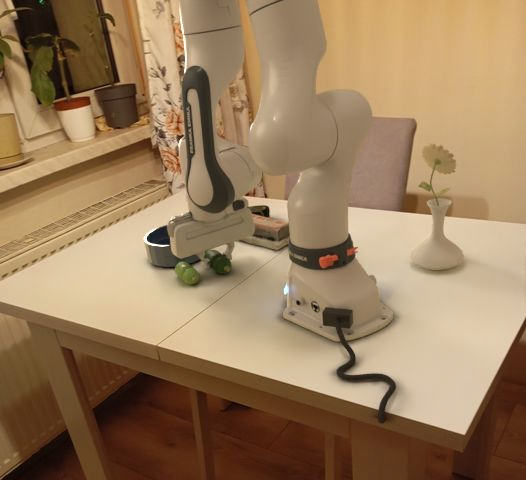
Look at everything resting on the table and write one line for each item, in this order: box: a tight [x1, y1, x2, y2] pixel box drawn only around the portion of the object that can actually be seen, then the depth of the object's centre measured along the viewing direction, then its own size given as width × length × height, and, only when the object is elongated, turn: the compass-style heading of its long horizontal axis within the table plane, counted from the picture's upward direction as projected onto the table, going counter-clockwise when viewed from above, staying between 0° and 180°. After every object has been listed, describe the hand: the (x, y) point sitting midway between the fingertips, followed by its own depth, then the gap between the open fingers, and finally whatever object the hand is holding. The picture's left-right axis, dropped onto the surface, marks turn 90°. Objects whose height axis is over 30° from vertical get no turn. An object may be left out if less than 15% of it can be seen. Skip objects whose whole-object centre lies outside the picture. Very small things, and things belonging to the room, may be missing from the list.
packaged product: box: [239, 214, 290, 251], centre depth 147 cm, size 18×5×10 cm
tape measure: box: [247, 204, 271, 218], centre depth 158 cm, size 7×7×4 cm
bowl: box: [143, 224, 209, 268], centre depth 143 cm, size 15×15×6 cm
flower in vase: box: [408, 143, 465, 271], centre depth 119 cm, size 13×11×25 cm
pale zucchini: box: [174, 262, 200, 285], centre depth 131 cm, size 9×4×4 cm, turn 30°
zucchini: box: [204, 249, 232, 275], centre depth 133 cm, size 10×4×4 cm, turn 30°
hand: (218, 263), depth 134 cm, fingers closed on zucchini, 4 cm apart
